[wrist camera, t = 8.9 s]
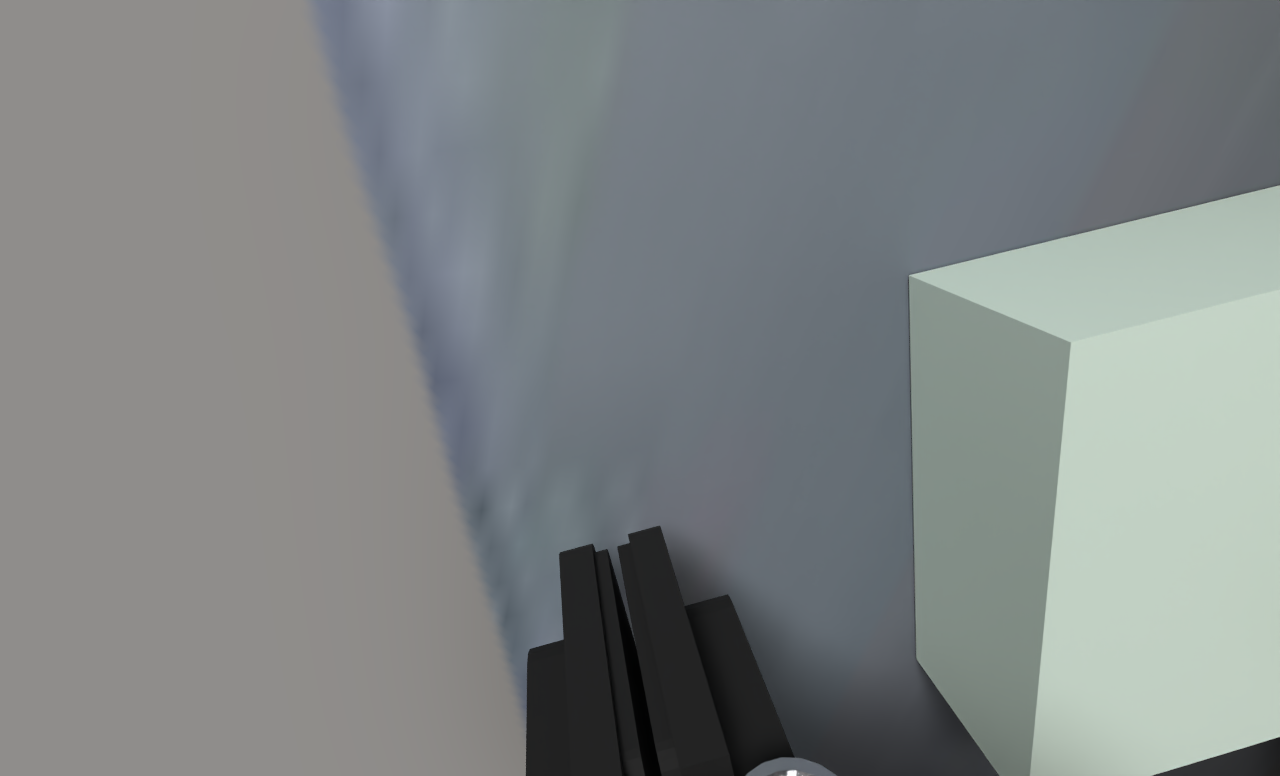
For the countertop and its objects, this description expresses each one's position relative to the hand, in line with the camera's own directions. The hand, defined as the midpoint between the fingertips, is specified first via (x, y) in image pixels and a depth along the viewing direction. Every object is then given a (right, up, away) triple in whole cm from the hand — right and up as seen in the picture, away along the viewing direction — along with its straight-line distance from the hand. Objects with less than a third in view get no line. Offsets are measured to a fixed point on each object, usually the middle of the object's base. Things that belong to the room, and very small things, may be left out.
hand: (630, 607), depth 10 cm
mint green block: (+13, +3, +3) cm, 14 cm away
